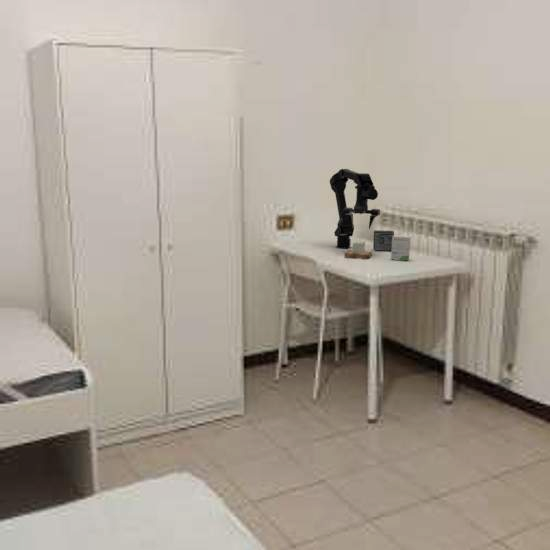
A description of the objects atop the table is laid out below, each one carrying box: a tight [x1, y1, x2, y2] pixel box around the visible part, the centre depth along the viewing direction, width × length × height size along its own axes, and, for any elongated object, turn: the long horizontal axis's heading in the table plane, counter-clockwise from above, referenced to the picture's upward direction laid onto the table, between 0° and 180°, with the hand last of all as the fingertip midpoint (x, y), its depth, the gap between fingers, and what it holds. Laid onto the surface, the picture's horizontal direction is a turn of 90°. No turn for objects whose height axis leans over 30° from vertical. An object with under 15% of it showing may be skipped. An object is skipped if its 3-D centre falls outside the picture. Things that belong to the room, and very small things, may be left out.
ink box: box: [390, 235, 411, 261], centre depth 352 cm, size 9×5×12 cm, turn 71°
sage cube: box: [352, 241, 366, 253], centre depth 358 cm, size 5×5×5 cm
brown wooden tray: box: [344, 249, 373, 260], centre depth 359 cm, size 12×10×2 cm
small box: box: [372, 229, 395, 252], centre depth 378 cm, size 11×6×10 cm, turn 84°
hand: (360, 228), depth 368 cm, fingers open, 9 cm apart
